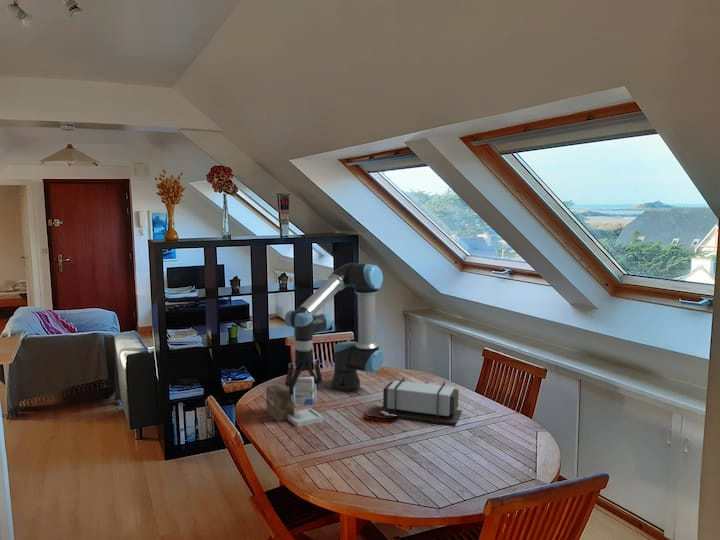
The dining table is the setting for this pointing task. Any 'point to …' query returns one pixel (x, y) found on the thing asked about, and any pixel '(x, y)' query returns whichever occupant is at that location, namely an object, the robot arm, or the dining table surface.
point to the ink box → (304, 390)
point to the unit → (279, 402)
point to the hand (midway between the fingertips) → (303, 399)
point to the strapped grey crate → (421, 402)
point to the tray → (305, 417)
